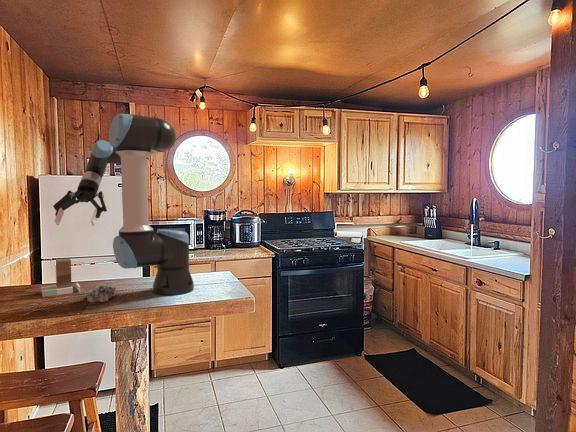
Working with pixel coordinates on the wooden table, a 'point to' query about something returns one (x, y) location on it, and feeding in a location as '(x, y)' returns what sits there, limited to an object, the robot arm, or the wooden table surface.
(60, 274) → the walnut block
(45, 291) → the board
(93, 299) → the egg carton
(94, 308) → the wooden table surface
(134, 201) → the robot arm
